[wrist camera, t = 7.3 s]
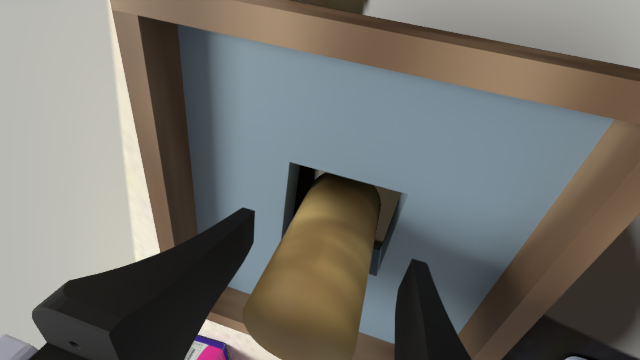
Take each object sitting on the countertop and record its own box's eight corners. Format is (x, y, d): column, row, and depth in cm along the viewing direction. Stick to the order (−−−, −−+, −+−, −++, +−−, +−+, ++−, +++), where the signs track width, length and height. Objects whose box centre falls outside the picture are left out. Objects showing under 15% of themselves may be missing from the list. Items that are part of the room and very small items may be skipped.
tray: (642, 69, 11) (744, 102, 7) (447, 342, 20) (453, 409, 17) (183, -21, 13) (104, -26, 10) (206, 261, 23) (171, 306, 20)
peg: (389, 181, 15) (368, 320, 9) (370, 238, 18) (341, 382, 11) (315, 161, 16) (243, 276, 9) (305, 218, 18) (241, 344, 12)
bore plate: (593, 90, 11) (623, 107, 10) (437, 329, 20) (439, 359, 18) (205, 10, 14) (176, 12, 12) (217, 256, 22) (202, 277, 21)
